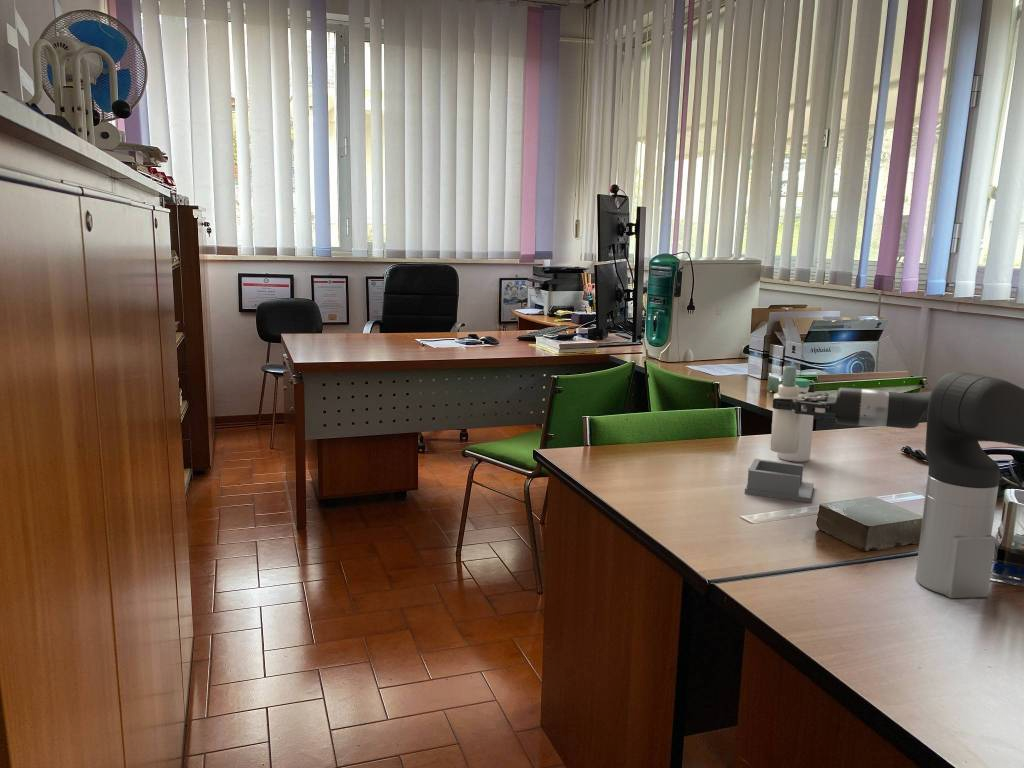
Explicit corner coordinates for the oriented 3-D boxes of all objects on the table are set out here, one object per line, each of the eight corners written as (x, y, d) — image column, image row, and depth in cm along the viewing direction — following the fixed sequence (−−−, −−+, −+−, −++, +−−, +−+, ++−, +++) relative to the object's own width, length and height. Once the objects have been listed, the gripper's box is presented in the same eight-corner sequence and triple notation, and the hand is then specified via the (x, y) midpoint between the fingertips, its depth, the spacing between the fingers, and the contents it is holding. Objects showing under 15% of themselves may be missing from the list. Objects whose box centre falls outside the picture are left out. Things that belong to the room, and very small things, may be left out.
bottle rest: (810, 502, 152) (812, 479, 151) (744, 493, 157) (746, 470, 157) (813, 487, 162) (815, 465, 161) (751, 479, 167) (753, 457, 166)
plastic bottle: (803, 453, 156) (809, 368, 152) (777, 453, 155) (782, 369, 152) (791, 446, 161) (796, 364, 158) (766, 446, 161) (771, 365, 158)
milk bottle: (812, 463, 180) (819, 382, 177) (779, 461, 182) (785, 381, 178) (806, 455, 188) (813, 377, 184) (774, 453, 189) (781, 375, 185)
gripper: (860, 433, 145) (769, 424, 152) (860, 418, 157) (776, 411, 165) (863, 395, 143) (771, 388, 150) (863, 383, 156) (778, 377, 163)
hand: (774, 400), depth 157 cm, fingers closed on plastic bottle, 5 cm apart
